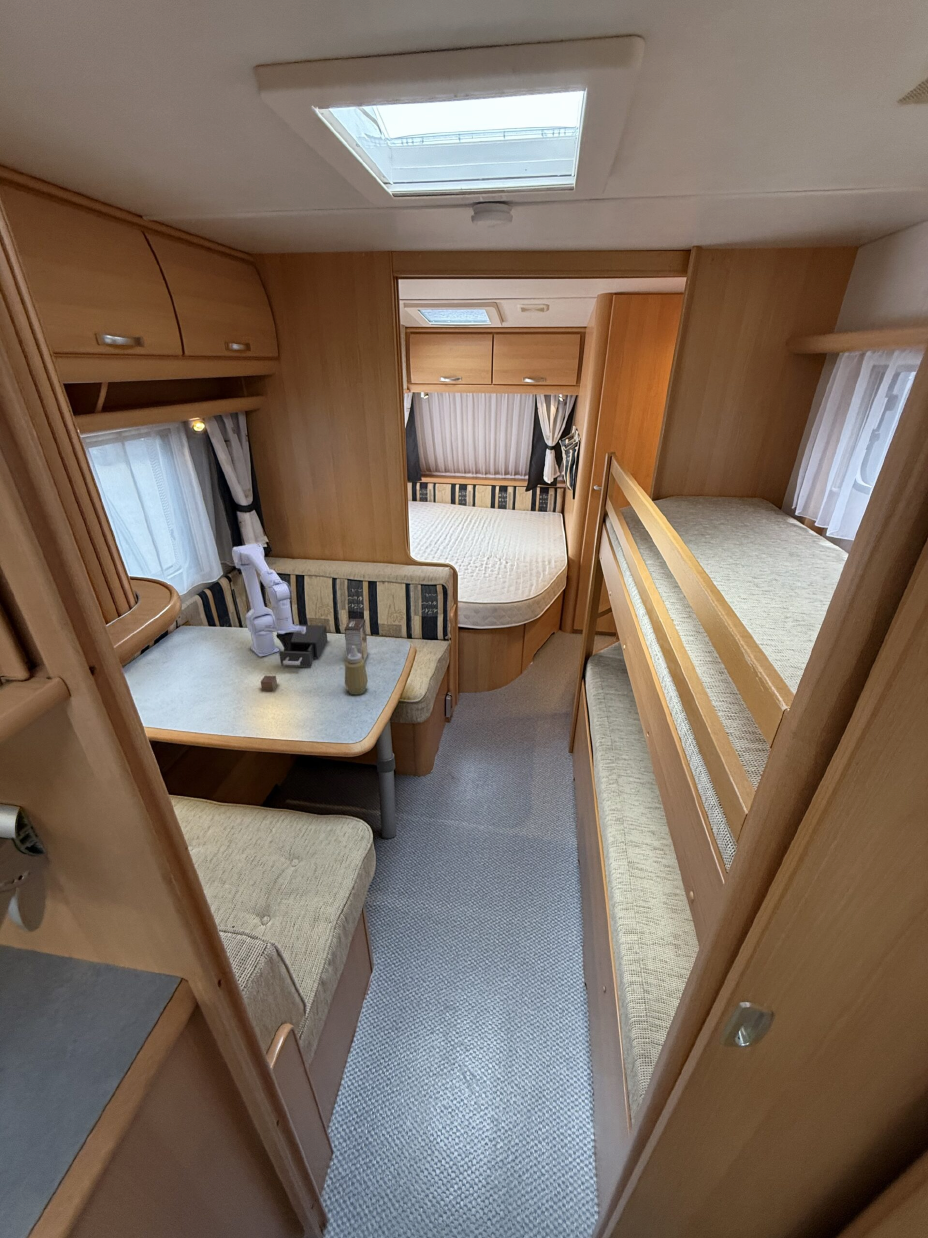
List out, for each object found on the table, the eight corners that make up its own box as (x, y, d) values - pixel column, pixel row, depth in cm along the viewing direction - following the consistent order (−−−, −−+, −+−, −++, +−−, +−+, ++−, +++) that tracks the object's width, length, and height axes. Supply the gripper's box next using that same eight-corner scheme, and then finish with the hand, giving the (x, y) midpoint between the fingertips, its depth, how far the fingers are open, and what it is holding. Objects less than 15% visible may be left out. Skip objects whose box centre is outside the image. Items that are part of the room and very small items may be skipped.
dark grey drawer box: (317, 659, 195) (315, 642, 191) (286, 658, 195) (283, 641, 191) (327, 641, 208) (326, 625, 205) (297, 640, 208) (295, 624, 205)
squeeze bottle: (363, 681, 182) (360, 639, 174) (372, 692, 176) (369, 648, 168) (342, 688, 178) (338, 644, 170) (350, 699, 172) (346, 654, 164)
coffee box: (352, 653, 200) (349, 618, 193) (368, 654, 200) (365, 618, 193) (346, 665, 192) (344, 628, 184) (363, 666, 192) (361, 629, 184)
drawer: (307, 673, 184) (305, 659, 182) (276, 671, 184) (274, 658, 182) (320, 649, 200) (319, 636, 198) (292, 648, 200) (291, 635, 198)
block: (273, 691, 174) (271, 682, 172) (262, 691, 174) (260, 681, 172) (277, 685, 178) (275, 675, 176) (266, 684, 178) (264, 675, 176)
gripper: (258, 620, 171) (263, 654, 177) (299, 621, 171) (304, 655, 177) (265, 611, 177) (271, 644, 183) (306, 613, 177) (309, 646, 183)
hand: (287, 649), depth 181 cm, fingers closed
